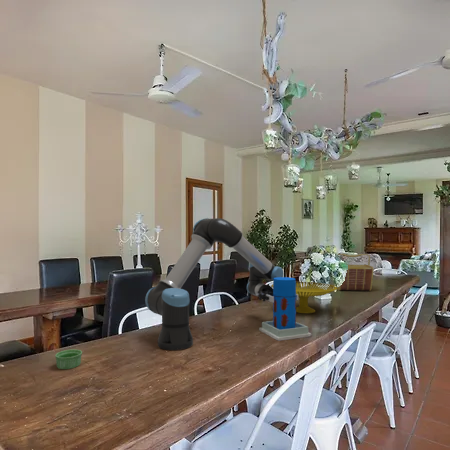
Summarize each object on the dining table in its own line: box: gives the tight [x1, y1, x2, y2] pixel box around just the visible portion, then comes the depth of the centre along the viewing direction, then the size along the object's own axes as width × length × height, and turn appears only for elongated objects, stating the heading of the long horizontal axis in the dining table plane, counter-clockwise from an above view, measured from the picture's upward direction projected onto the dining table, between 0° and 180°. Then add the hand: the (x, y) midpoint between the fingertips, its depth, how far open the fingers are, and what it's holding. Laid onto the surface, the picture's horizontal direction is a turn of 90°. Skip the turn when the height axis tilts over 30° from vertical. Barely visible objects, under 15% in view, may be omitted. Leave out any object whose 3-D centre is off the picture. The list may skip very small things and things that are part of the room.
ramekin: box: [54, 348, 83, 370], centre depth 130 cm, size 9×9×4 cm
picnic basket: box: [337, 253, 375, 292], centre depth 298 cm, size 29×26×30 cm
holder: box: [258, 320, 312, 341], centre depth 171 cm, size 18×18×4 cm
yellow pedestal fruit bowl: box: [270, 281, 338, 314], centre depth 219 cm, size 40×40×15 cm
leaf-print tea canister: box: [272, 276, 297, 330], centre depth 171 cm, size 11×11×25 cm
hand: (285, 298), depth 170 cm, fingers open, 13 cm apart
